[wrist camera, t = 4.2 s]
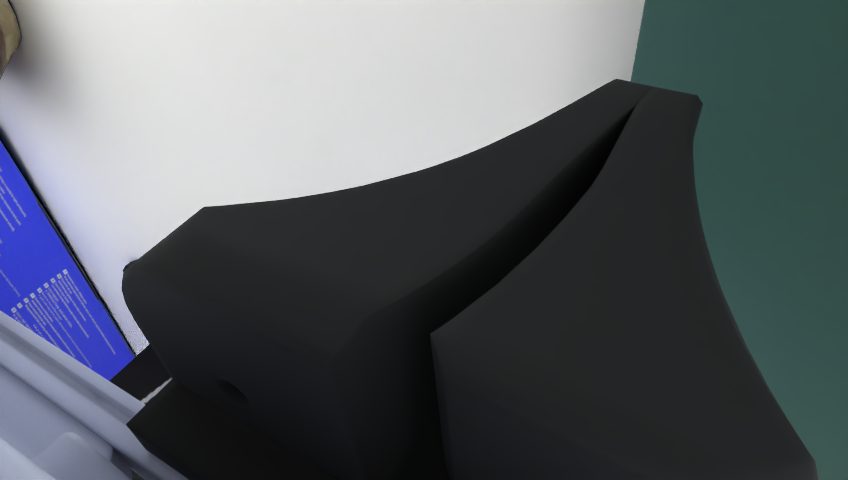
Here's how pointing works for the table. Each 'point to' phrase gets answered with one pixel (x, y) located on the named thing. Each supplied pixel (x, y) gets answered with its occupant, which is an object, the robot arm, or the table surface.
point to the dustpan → (771, 186)
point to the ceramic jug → (7, 34)
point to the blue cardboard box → (51, 281)
